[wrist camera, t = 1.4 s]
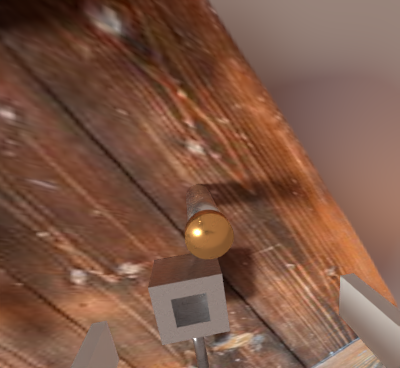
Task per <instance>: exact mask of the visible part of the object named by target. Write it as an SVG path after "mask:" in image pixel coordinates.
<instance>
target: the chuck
mask: <svg viewBox="0 0 400 368" xmlns="http://www.w3.org/2000/svg"><path fill="white" fill-rule="evenodd" d="M148 289H149V293H150V297H151V301H152V305H153V309H154V313H155V317H156V321H157V325H158V329H159V333H160V337H161V341H162V345H165V344H170V343H175V342H179V341H184V340H189V339H193V343H194V348H195V353H196V358H197V363H198V368H209V363H208V357H207V352H206V346H205V341H204V336H208V335H213V334H218V333H223V332H228V331H230V328H229V321H228V314H227V306H226V299H225V292H224V285H223V277H222V272H221V269H220V265H219V262H218V258H215V259H201V258H198V257H196V256H194V255H193V254H187V255H181V256H176V257H170V258H165V259H160V260H154V264H153V268H152V273H151V277H150V282H149V286H148Z"/></svg>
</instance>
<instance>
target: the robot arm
mask: <svg viewBox="0 0 400 368" xmlns="http://www.w3.org/2000/svg"><path fill="white" fill-rule="evenodd" d="M339 315H340V316H341V317H342V318H343V320H344V321H345V322H346V323H347V324H348V325H349V326H350V328H351V329H352V330H353V331H354V332H355V333H356V334H357V335H358V337H359V338H360V339H361V340H362V341H363V342H364V343H365V344H366V346H367V347H368V348H369V349H370V350H371V351H372V352H373V353H374V355H375V356H376V357H377V358H378V359H379V360H380V361H381V362H382V364H383V365H384V366H385V367H386V368H400V310H399V309H398V308H396V307H395V306H394V305H393V304H391V303H390V302H389V301H388V300H386V299H385V298H384V297H383V296H381V295H380V294H379V293H378V292H376V291H375V290H374V289H372V288H371V287H370V286H369V285H367V284H366V283H365V282H364V281H362V280H361V279H360V278H359V277H357V276H356V275H355V274H354V273H352V274H347V275H342V276H341V277H340V302H339ZM118 361H119V358H118V354H117V351H116V348H115V345H114V342H113V339H112V336H111V333H110V330H109V327H108V324H107V321H103V322H98V323H93V324H92V325H91V327H90V329H89V331H88V333H87V335H86V337H85V339H84V341H83V343H82V345H81V347H80V349H79V351H78V353H77V355H76V358H75V360H74V362H73V364H72V366H71V368H117V365H118Z"/></svg>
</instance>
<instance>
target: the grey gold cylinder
mask: <svg viewBox="0 0 400 368" xmlns="http://www.w3.org/2000/svg"><path fill="white" fill-rule="evenodd" d="M186 200H187V214H188V222H187V224H186V227H185V242H186V246H187V248H188V250H189V251H190V252H191V253H192V254H193V255H194V256H196V257H198V258H201V259H215V258H218V257H220V256H222V255H223V254H225V253H226V252H227V251H228V250H229V249H230V247H231V245H232V243H233V239H234V233H233V229H232V227H231V225H230V223H229V221H228V219H227V218H226V217H225V216H224V215H223V214H222V213H220V212H219V210H218V208H217V206H216V204H215V202H214V200H213V198H212V196H211V194H210V192H209V190H208V189H207V188H206V187H205V186H203V185H200V184H197V185H193V186H192V187H190V188H189V189H188V191H187V194H186Z"/></svg>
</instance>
